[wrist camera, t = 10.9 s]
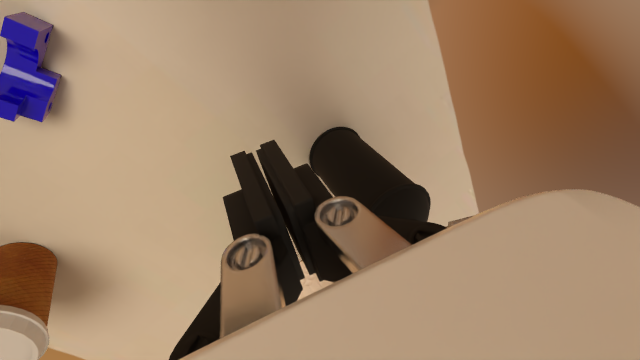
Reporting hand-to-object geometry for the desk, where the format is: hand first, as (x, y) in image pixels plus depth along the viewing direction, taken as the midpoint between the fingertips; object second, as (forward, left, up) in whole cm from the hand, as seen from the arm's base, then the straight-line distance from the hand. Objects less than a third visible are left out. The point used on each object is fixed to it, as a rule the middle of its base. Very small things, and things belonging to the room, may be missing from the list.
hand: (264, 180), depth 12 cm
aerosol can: (+18, +12, -27) cm, 35 cm away
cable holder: (-3, -14, -27) cm, 31 cm away
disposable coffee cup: (+16, -28, -27) cm, 42 cm away
